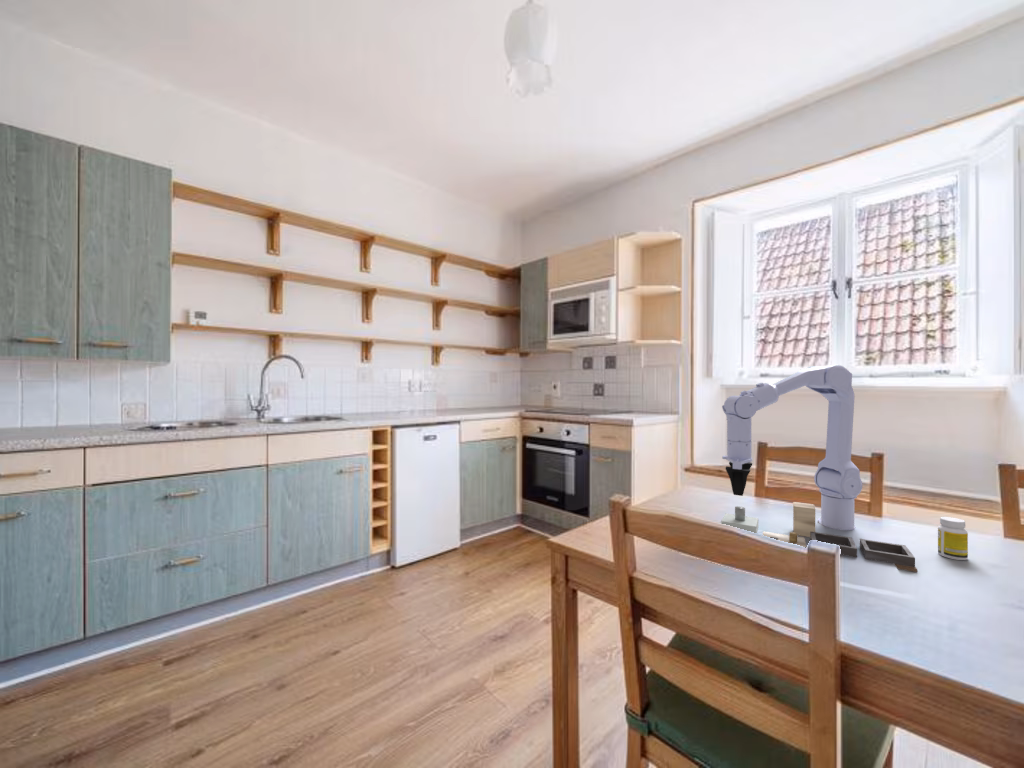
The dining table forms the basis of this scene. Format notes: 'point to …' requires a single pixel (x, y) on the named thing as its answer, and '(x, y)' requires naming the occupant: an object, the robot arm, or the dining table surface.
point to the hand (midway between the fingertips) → (739, 491)
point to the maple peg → (803, 518)
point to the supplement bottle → (952, 538)
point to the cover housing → (741, 520)
